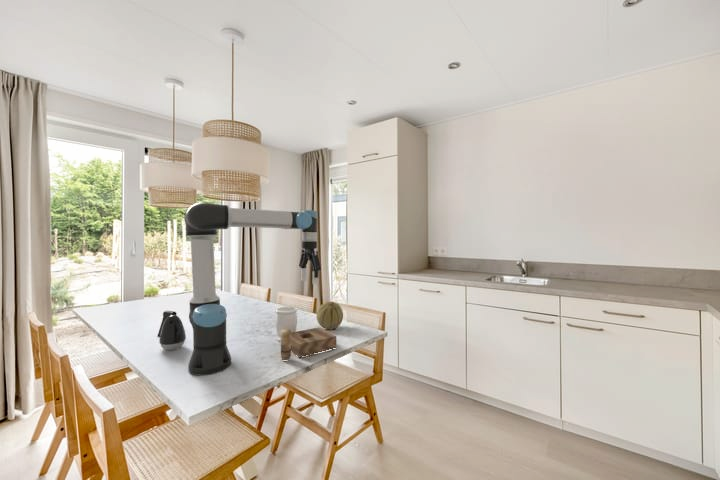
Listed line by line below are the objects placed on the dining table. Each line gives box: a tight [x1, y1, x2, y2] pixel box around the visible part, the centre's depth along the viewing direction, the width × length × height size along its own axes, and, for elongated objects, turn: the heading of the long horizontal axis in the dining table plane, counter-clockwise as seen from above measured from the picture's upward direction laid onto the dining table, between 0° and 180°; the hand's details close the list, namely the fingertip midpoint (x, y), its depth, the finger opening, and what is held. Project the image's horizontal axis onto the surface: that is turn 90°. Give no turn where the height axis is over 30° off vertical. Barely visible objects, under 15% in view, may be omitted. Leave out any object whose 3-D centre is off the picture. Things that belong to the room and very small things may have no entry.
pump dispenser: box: [159, 315, 187, 352], centre depth 140 cm, size 10×10×15 cm
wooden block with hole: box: [291, 326, 337, 358], centre depth 141 cm, size 18×16×6 cm
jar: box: [274, 306, 298, 342], centre depth 152 cm, size 11×10×15 cm
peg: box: [280, 329, 292, 361], centre depth 128 cm, size 4×4×12 cm
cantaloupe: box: [316, 301, 344, 330], centre depth 169 cm, size 15×15×15 cm
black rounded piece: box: [157, 310, 178, 338], centre depth 159 cm, size 9×6×12 cm, turn 159°
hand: (309, 282), depth 158 cm, fingers open, 13 cm apart
